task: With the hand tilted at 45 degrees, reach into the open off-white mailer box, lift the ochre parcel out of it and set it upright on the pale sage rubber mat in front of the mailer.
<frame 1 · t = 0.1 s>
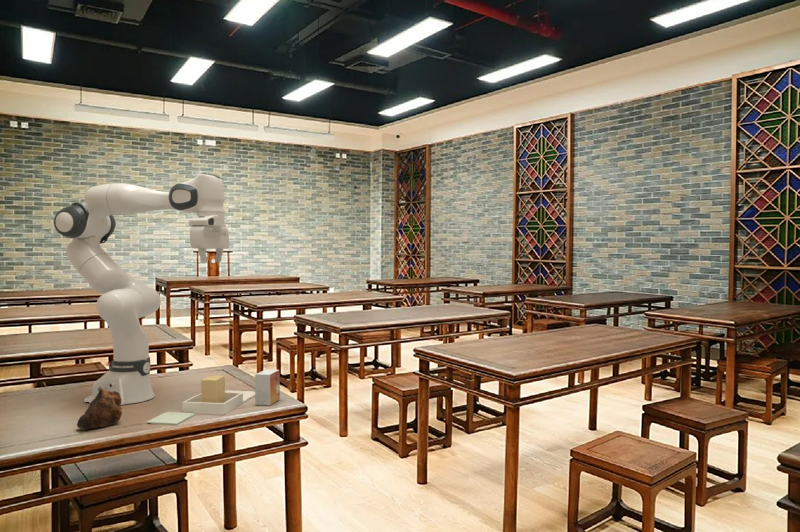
hand: (211, 262, 184), 48 cm above the table, tool pointing down, fingers open, 8 cm apart
sage mat: (171, 419, 167), on the table
small box: (267, 402, 185), on the table
decorative rock: (101, 426, 161), on the table
mailer box: (213, 407, 179), on the table
parcel: (213, 408, 179), resting in mailer box
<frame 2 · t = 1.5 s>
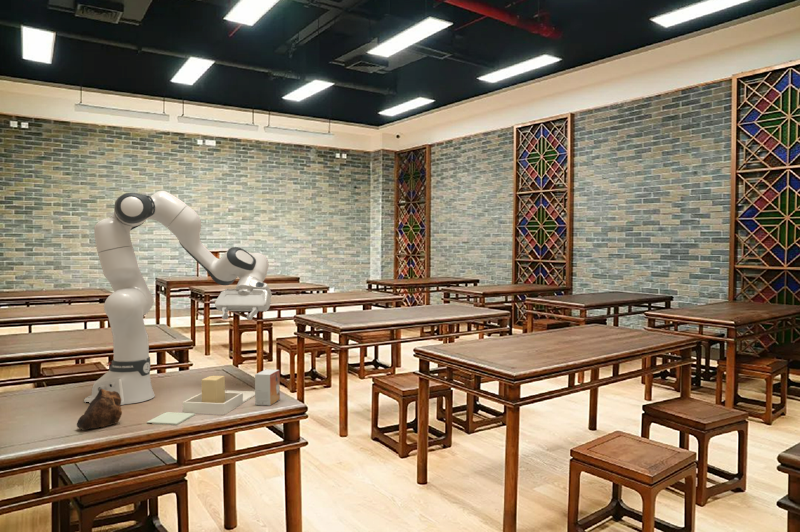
hand: (236, 318, 195), 27 cm above the table, tool tilted 45°, fingers open, 8 cm apart
nothing on the table moved.
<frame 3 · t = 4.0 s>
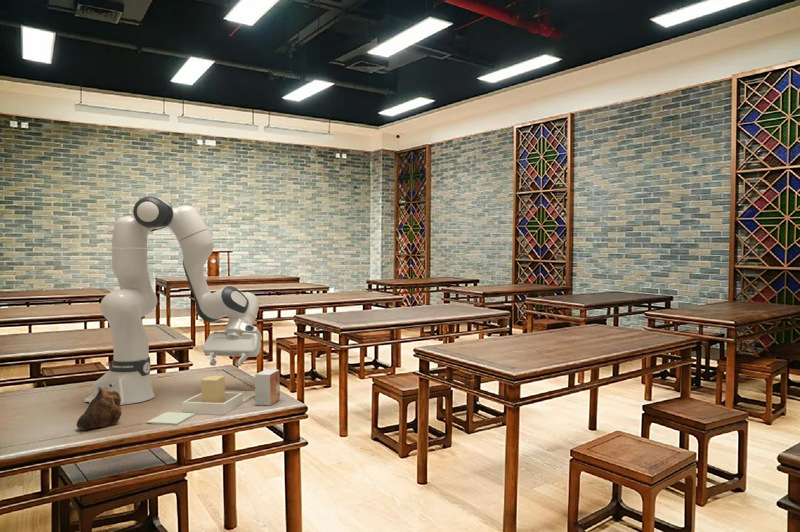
hand: (224, 365, 186), 13 cm above the table, tool tilted 45°, fingers open, 8 cm apart
nothing on the table moved.
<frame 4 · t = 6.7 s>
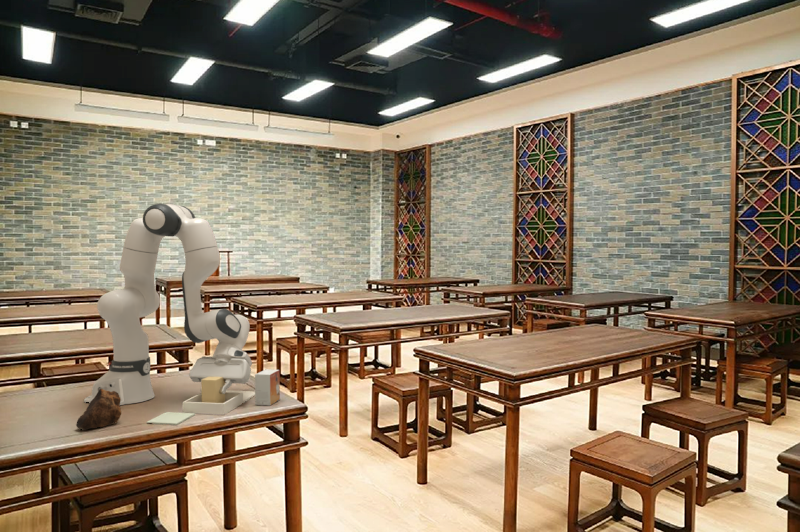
hand: (212, 392, 178), 5 cm above the table, tool tilted 45°, fingers closed on parcel, 5 cm apart
parcel: (213, 408, 179), resting in mailer box, touching gripper
everything else where it was.
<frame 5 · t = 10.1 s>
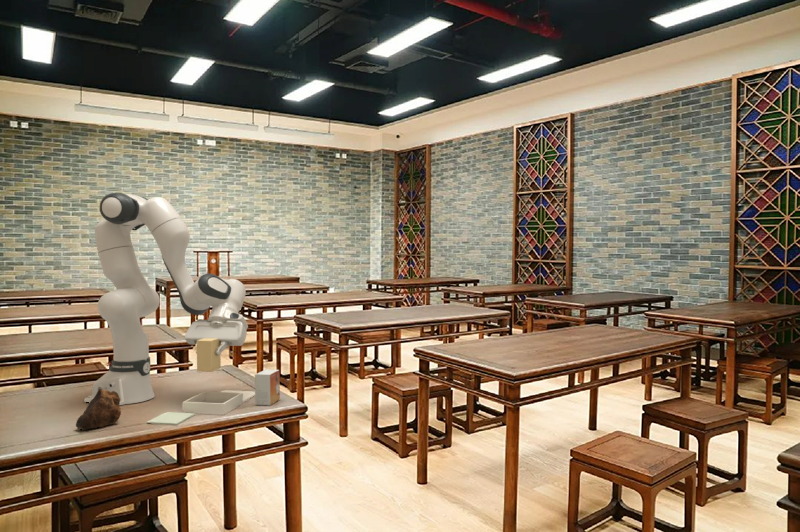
hand: (207, 354, 177), 18 cm above the table, tool tilted 45°, fingers closed on parcel, 5 cm apart
parcel: (209, 369, 178), point 13 cm above the table, touching gripper
everything else where it was.
when the fingers open (7 cm above the table, at t = 14.0 s): parcel stays where it is, resting on sage mat.
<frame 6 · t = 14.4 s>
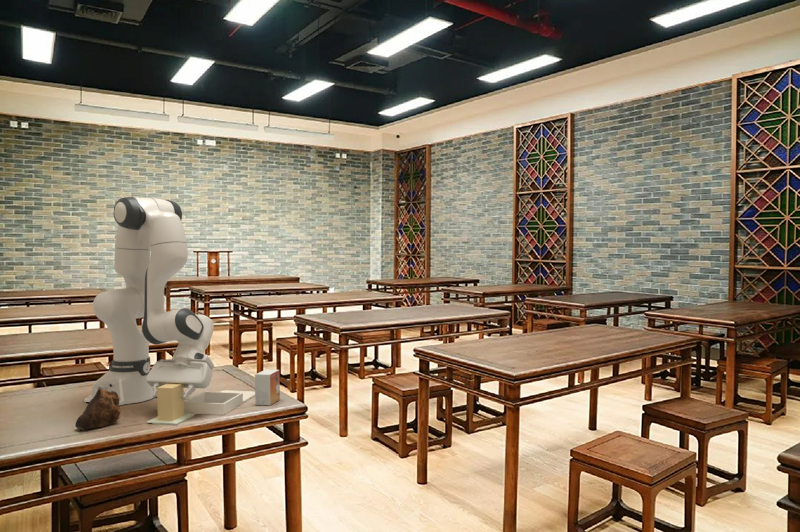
hand: (169, 398, 167), 7 cm above the table, tool tilted 45°, fingers open, 8 cm apart
parcel: (171, 417, 167), resting on sage mat
everything else where it was.
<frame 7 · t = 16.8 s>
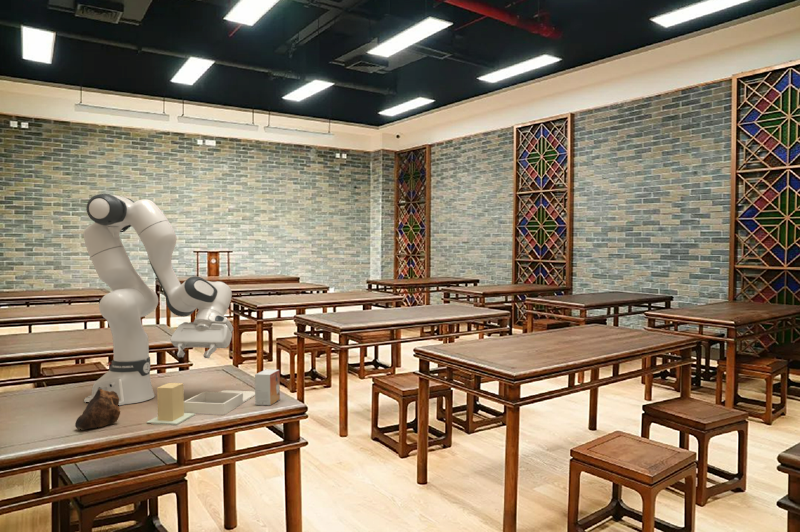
hand: (192, 356, 179), 17 cm above the table, tool tilted 45°, fingers open, 8 cm apart
nothing on the table moved.
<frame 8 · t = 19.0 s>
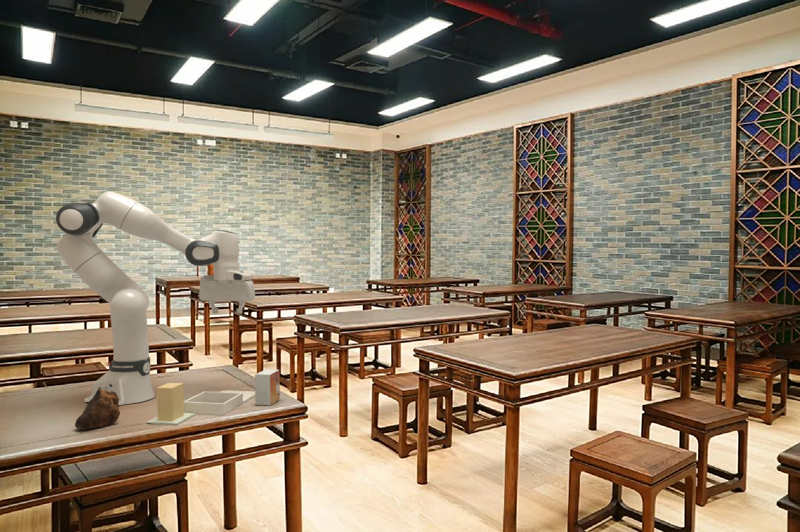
hand: (227, 313, 196), 29 cm above the table, tool pointing down, fingers open, 8 cm apart
nothing on the table moved.
at the end: parcel inside the target area (0.0 cm from its centre), point 0.5 cm above the table; parcel tilted 0°; the gripper is holding nothing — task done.
